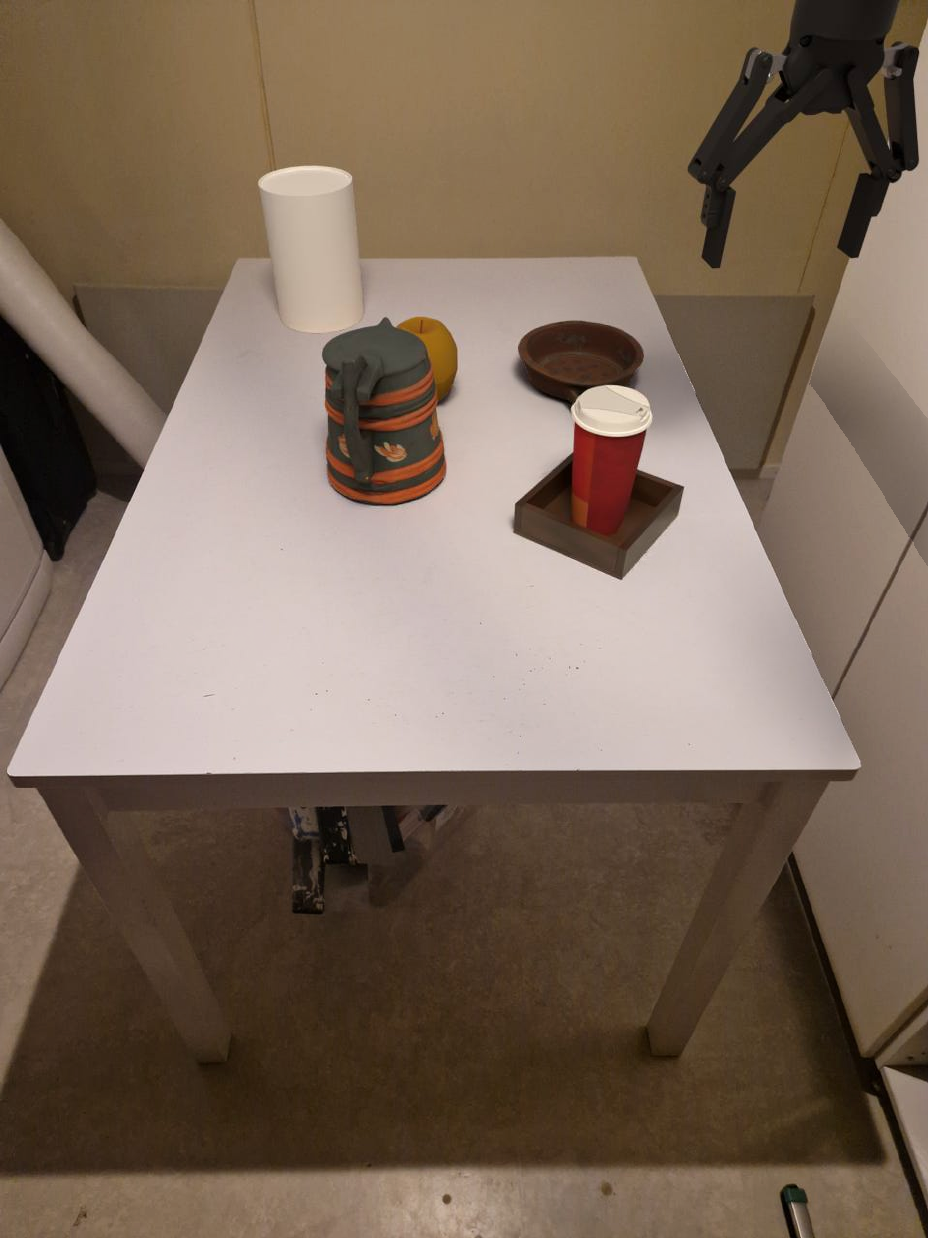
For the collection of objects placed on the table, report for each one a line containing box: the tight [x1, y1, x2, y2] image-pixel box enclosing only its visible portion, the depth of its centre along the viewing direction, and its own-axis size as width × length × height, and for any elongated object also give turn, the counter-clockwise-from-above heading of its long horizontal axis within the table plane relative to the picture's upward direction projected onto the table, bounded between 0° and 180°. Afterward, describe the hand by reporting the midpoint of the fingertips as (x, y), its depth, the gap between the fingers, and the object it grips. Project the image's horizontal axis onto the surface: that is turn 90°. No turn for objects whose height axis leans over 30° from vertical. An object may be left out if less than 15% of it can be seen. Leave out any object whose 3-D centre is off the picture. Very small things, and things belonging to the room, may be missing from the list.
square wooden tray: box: [513, 451, 685, 581], centre depth 93 cm, size 14×14×4 cm
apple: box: [395, 316, 459, 403], centre depth 110 cm, size 10×10×12 cm
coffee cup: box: [570, 385, 653, 536], centre depth 89 cm, size 8×8×15 cm
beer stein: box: [321, 316, 447, 505], centre depth 93 cm, size 19×15×20 cm
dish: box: [517, 319, 645, 406], centre depth 116 cm, size 18×22×5 cm
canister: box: [257, 165, 365, 334], centre depth 127 cm, size 14×14×20 cm
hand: (779, 257), depth 77 cm, fingers open, 13 cm apart
